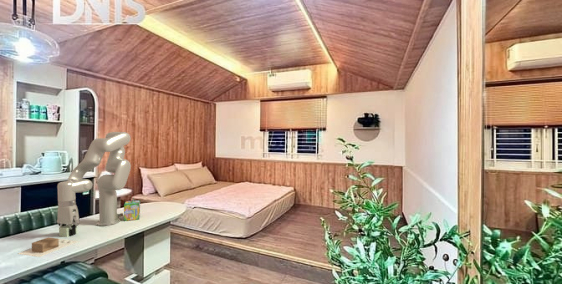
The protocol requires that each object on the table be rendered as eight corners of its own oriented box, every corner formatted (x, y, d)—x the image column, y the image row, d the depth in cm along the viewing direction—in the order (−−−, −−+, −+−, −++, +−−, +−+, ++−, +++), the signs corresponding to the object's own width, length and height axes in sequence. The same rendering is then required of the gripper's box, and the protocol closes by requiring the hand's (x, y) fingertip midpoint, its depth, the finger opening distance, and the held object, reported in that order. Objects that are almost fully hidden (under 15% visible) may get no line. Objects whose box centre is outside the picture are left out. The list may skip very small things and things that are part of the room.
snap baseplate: (58, 240, 137) (58, 237, 137) (79, 243, 133) (79, 240, 133) (17, 255, 119) (17, 252, 119) (39, 259, 116) (39, 255, 116)
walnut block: (48, 245, 129) (48, 237, 128) (58, 246, 127) (58, 238, 127) (31, 251, 122) (31, 243, 122) (42, 252, 120) (42, 244, 120)
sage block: (69, 233, 146) (69, 224, 145) (77, 234, 144) (76, 224, 144) (59, 237, 140) (58, 227, 140) (66, 238, 139) (66, 228, 139)
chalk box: (125, 217, 176) (125, 196, 175) (140, 215, 180) (140, 195, 179) (123, 221, 167) (123, 199, 167) (139, 219, 171) (139, 198, 171)
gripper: (85, 202, 143) (86, 233, 144) (62, 200, 147) (63, 231, 148) (72, 206, 136) (73, 239, 137) (48, 204, 140) (49, 236, 141)
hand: (68, 234), depth 142 cm, fingers closed on sage block, 5 cm apart
